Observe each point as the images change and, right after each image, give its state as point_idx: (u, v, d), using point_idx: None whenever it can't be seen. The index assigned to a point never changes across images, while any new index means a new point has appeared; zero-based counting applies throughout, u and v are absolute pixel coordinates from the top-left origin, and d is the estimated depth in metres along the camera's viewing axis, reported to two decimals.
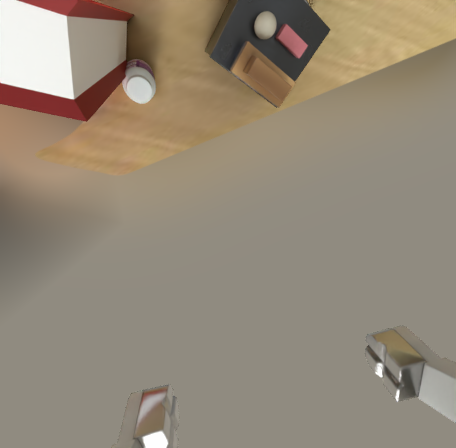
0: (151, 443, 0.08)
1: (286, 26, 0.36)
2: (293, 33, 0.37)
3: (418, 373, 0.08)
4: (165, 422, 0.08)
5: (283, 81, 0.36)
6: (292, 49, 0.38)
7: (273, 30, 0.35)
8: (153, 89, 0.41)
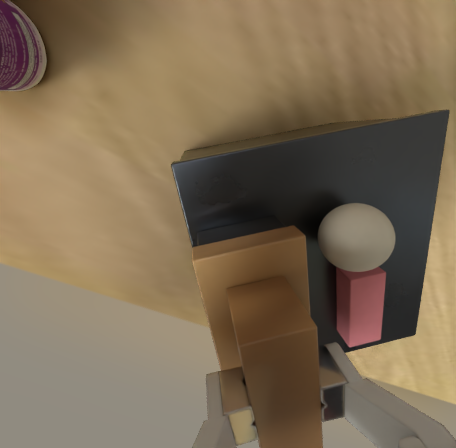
0: (239, 420, 0.08)
1: (382, 276, 0.13)
2: (380, 299, 0.13)
3: (341, 393, 0.08)
4: None
5: (317, 436, 0.09)
6: (353, 323, 0.14)
7: (371, 268, 0.11)
8: None
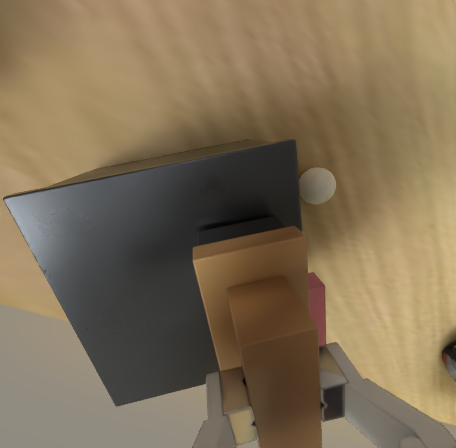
0: (238, 420, 0.08)
1: (321, 290, 0.13)
2: (321, 312, 0.13)
3: (341, 393, 0.08)
4: None
5: (317, 436, 0.09)
6: None
7: None
8: None
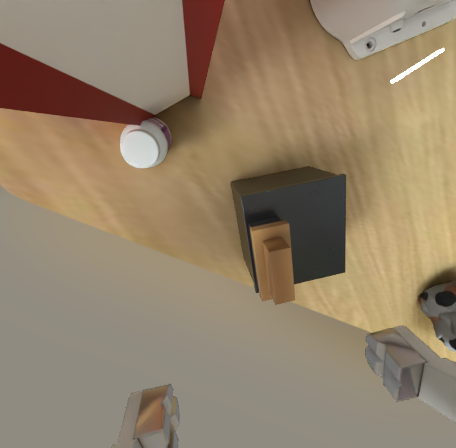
0: (151, 443, 0.08)
1: None
2: None
3: (418, 373, 0.08)
4: (165, 421, 0.08)
5: (292, 288, 0.27)
6: None
7: None
8: (155, 163, 0.29)
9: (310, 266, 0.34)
